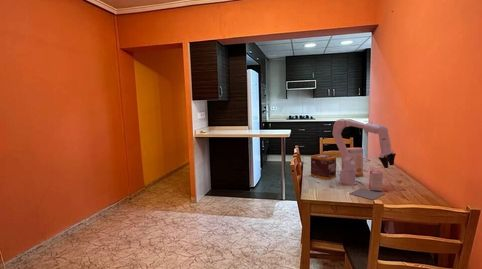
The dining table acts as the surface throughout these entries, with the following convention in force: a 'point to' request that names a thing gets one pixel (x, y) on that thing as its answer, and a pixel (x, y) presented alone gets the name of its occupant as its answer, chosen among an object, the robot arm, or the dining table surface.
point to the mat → (367, 194)
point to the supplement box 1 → (323, 166)
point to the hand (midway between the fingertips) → (389, 166)
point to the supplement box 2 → (375, 181)
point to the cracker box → (356, 160)
